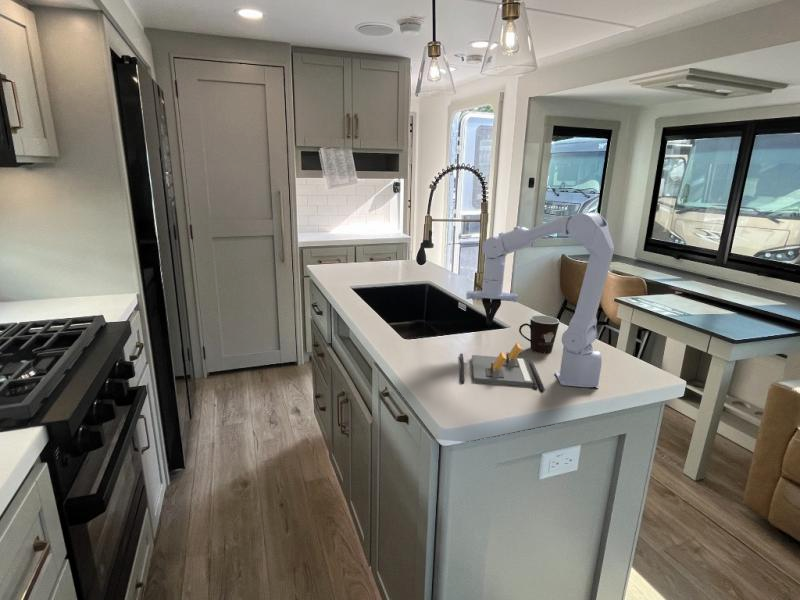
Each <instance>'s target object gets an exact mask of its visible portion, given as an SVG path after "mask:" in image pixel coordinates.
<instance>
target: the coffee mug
mask: <svg viewBox="0 0 800 600" xmlns="http://www.w3.org/2000/svg"><path fill="white" fill-rule="evenodd" d="M529 319H530V320H529V321H530V322H529V323H530V324H529V323H522V324H521V325H520V326H519V328H518V332H519V335H521V336H522V338H524V339H525V340H527V341H529V343H530V350H531V351H532V352H534V353H538V354H541V355H542V354H543V355H544V354H545V355H547V354H552V352H553V348H554V344H555V340H556V337H557V332H558V328H559V325H560V320H559V319H558V318H556V317H553V316H550V315H540V314H539V315H538V314H537V315H532V316H530V317H529ZM525 326H528V327H529V329H530V330H529V331H530V334H529V335H530V338H528V337H527V336H525V335H524V334H523V332H522V328H523V327H525Z"/></svg>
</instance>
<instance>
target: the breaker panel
mask: <svg viewBox="0 0 800 600" xmlns="http://www.w3.org/2000/svg"><path fill="white" fill-rule="evenodd" d="M509 353H510V351H509V352H506V353H505V355H506V359H507V360H506V361H505V362H504V364H503V365H502V367H501V368H500V370H493V367H492V365H493V364H494V362H495V361H496V359H497V358H498V356H492V355H489V356H488V355H480V354H479V355H477V354H472V355H471V363H472V364H471V365H472V375H473V383H480V384H482V383H483V384H492V385H493V384H494V385H503V386H504V385H505V386H517V387H529V388H534V387H533V380H532V378H531V375H530V372H529V370H528V367H527V365H526V362H525V361H526V359H525V358H518V357H516V359H515V360H512V359H508V355H509Z"/></svg>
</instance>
